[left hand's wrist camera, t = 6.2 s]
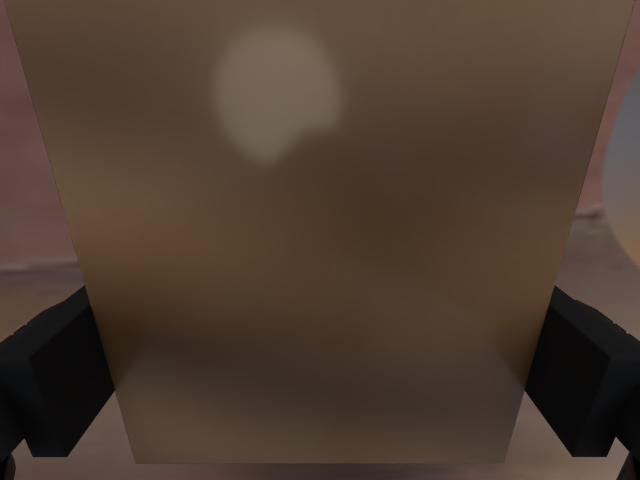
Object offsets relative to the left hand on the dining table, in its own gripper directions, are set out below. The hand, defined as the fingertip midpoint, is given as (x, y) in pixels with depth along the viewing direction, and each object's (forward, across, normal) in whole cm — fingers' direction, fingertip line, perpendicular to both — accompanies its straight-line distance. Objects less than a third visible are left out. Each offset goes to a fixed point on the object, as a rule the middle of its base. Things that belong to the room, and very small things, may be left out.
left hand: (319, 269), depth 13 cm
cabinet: (+5, 0, -6) cm, 7 cm away
